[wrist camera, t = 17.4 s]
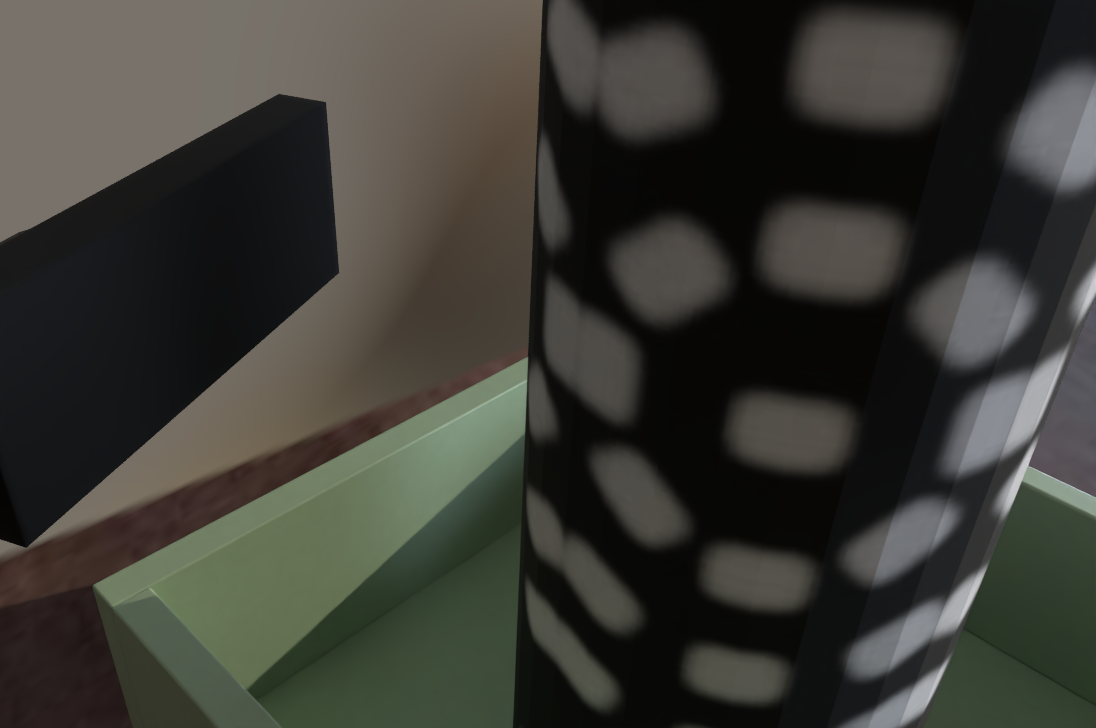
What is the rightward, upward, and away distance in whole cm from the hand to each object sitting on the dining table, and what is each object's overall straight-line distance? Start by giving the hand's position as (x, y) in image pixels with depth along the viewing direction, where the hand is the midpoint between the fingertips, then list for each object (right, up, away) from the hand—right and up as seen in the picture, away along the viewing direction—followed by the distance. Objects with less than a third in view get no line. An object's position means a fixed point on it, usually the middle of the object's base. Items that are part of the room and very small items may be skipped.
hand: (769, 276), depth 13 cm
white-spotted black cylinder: (0, -10, +10) cm, 14 cm away
